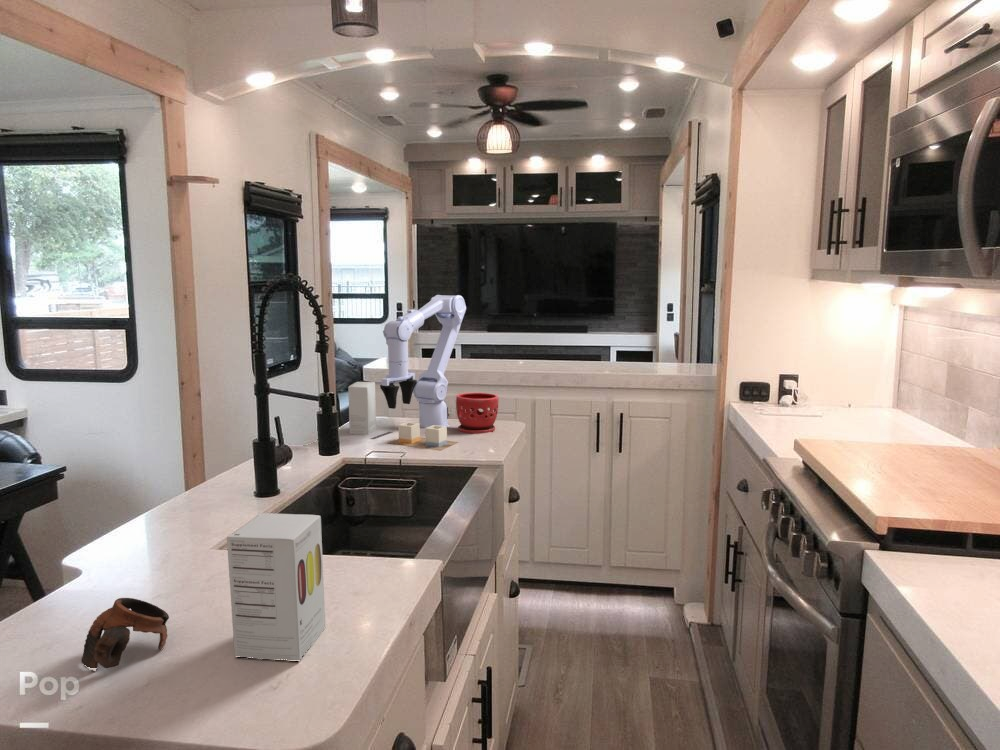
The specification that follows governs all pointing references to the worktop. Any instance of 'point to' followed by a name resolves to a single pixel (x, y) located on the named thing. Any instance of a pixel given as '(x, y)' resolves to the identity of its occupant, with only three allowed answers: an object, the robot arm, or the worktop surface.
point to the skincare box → (362, 408)
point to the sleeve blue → (436, 435)
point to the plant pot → (476, 412)
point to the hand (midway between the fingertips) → (399, 405)
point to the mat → (381, 435)
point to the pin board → (423, 444)
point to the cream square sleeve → (409, 432)
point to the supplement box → (276, 585)
